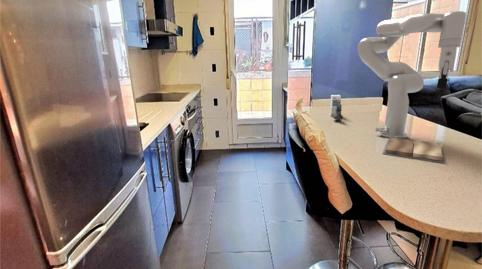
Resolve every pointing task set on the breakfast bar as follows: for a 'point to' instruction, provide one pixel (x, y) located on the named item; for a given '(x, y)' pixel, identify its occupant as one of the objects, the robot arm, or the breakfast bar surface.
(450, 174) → the breakfast bar surface
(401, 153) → the walnut board
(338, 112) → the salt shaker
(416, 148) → the ash plank
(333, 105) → the syrup box
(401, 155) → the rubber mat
